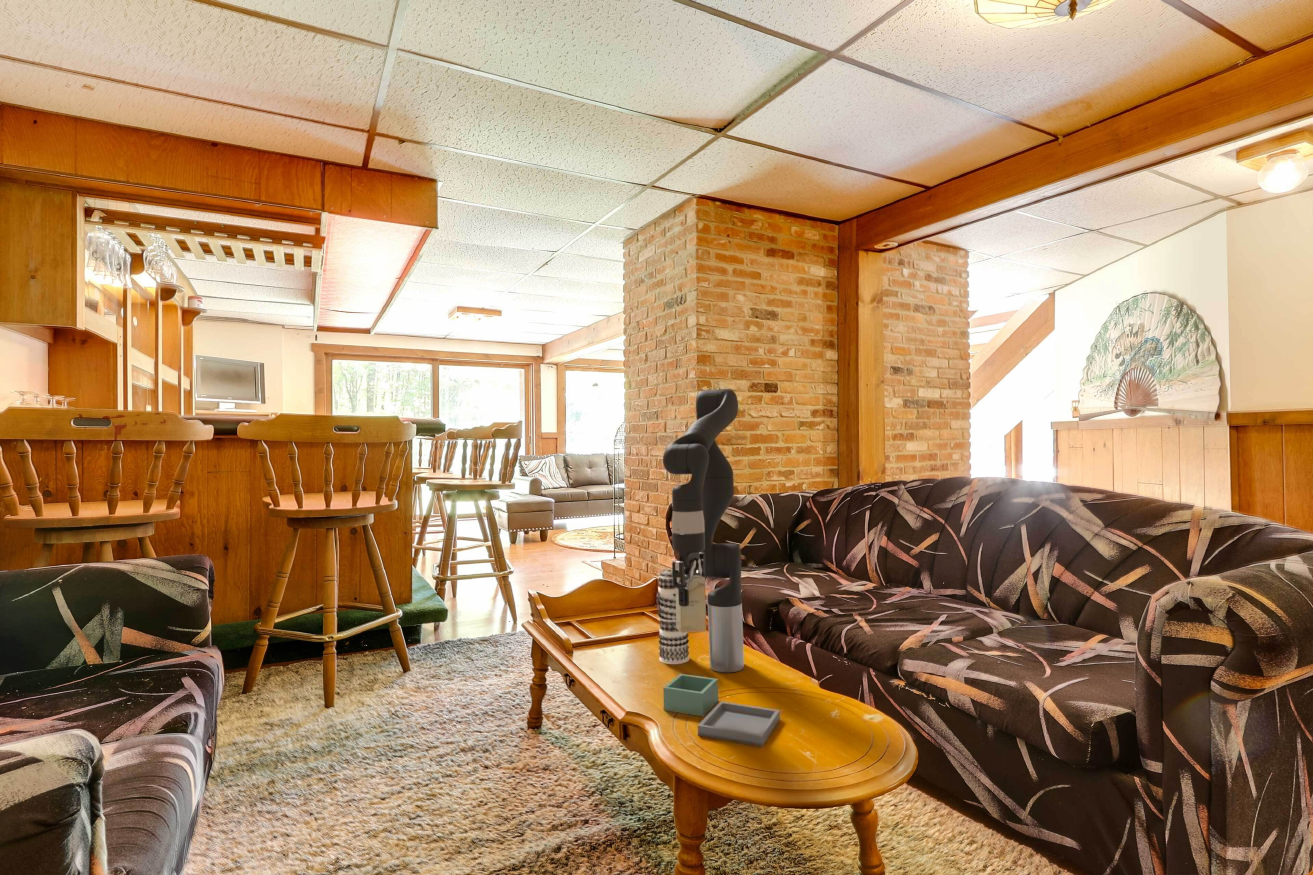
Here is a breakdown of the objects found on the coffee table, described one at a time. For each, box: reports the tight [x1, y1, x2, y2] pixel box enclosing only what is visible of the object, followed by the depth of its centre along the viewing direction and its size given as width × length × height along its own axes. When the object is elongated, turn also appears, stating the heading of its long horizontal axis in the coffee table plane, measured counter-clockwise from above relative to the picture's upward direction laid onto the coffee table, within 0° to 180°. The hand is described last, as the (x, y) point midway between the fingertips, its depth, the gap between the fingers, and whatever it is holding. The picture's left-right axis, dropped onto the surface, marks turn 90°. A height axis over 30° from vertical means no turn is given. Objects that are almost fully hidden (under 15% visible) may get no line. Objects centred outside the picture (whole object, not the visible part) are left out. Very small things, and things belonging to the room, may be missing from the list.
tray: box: [697, 700, 781, 748], centre depth 133 cm, size 14×14×2 cm
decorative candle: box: [656, 568, 690, 665], centre depth 178 cm, size 9×9×25 cm
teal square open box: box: [662, 673, 719, 717], centre depth 145 cm, size 10×10×5 cm
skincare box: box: [675, 575, 707, 633], centre depth 145 cm, size 6×4×12 cm
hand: (690, 601), depth 145 cm, fingers closed on skincare box, 7 cm apart
